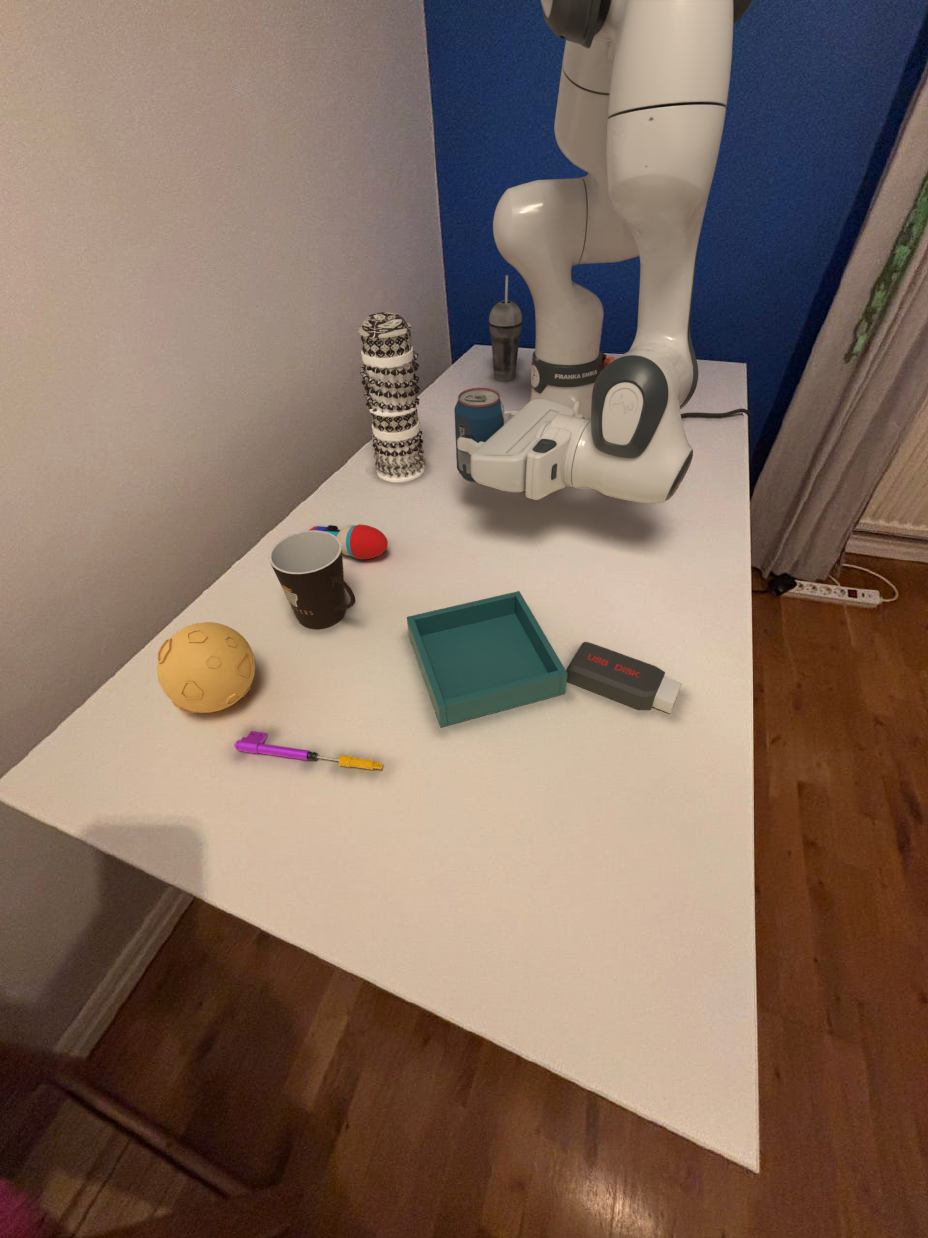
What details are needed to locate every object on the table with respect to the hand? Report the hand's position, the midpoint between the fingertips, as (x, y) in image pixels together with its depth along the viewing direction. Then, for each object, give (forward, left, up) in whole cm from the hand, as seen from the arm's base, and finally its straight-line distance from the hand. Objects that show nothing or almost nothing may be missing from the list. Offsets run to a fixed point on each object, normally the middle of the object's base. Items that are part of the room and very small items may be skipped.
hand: (473, 429), depth 85 cm
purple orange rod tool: (+30, +38, -14) cm, 50 cm away
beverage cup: (-23, -48, -14) cm, 55 cm away
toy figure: (+21, +4, -14) cm, 26 cm away
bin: (+9, +32, -14) cm, 36 cm away
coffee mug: (+26, +18, -14) cm, 35 cm away
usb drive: (-5, +40, -14) cm, 42 cm away
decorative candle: (+8, -16, -14) cm, 23 cm away
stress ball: (+39, +27, -14) cm, 50 cm away
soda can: (-1, +1, -7) cm, 7 cm away
